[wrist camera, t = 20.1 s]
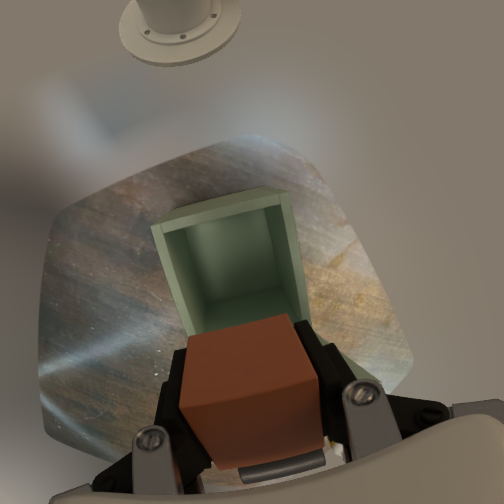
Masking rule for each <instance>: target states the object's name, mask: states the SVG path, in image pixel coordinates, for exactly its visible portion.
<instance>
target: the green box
mask: <svg viewBox="0 0 504 504" xmlns="http://www.w3.org/2000/svg"><path fill="white" fill-rule="evenodd" d="M150 227H151V230H152V234H153V237H154V240H155V244H156V247H157V250H158V253H159V257H160V260H161V263H162V266H163V269H164V272H165V275H166V278H167V281H168V284H169V287H170V290H171V293H172V296H173V298H174V301H175V304H176V307H177V309H178V312H179V315H180V318H181V320H182V323H183V325H184V328H185V331H186V333H187V336H188V338H189V336H192V335H197V334H202V333H206V332H211V331H215V330H220V329H224V328H229V327H233V326H237V325H241V324H245V323H250V322H254V321H258V320H262V319H265V318H269V317H273V316H277V315H281V314H284V313H286V314H287V315H288V317H289V319H290V321H291V323H292V325H293V326H294V323H295V322H299V321H302V320H306V319H307V320H308V322H309V324H310V325H311V327H312V322H311V315H310V308H309V302H308V295H307V289H306V283H305V277H304V271H303V265H302V259H301V253H300V248H299V242H298V237H297V231H296V226H295V221H294V216H293V211H292V206H291V201H290V196H289V192H288V191H284V190H280V189H275V188H271V187H267V186H264V187H259V188H255V189H251V190H246V191H242V192H238V193H234V194H229V195H225V196H221V197H217V198H213V199H209V200H205V201H202V202H198V203H194V204H190V205H186V206H183V207H179V208H175V209H173V210H171V211H170V212H169V213H167V214H166V215H165V216H163V217H162V218H161V219H159V220H158V221H157V222H155V223H154V224H153V225H151V226H150Z"/></svg>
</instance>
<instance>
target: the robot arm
mask: <svg viewBox="0 0 504 504" xmlns="http://www.w3.org/2000/svg"><path fill="white" fill-rule="evenodd" d="M136 2H137V4H138V6H139V9H138V11H137V14H136V26H137V29H138V31H139V33H140V34H141V35H142V36H143V38H145V39H146V40H148V41H149V42H152V43H154V44H158V45H166V46H173V45H181V44H185V43H189V42H192V41H194V40H197V39H199V38H201V37H203V36H204V35H205V34H207V33H208V32H210V31H211V30H212V29H213V28H214V27H215V25H216V24H217V22H218V21H219V19H220V16H221V11H222V4H221V1H220V0H136ZM183 38H185V39H183ZM293 327H294V329H295V331H296V333H297V335H298V337H299V339H300V341H301V343H302V345H303V347H304V349H305V352H306V354H307V356H308V358H309V360H310V362H311V364H312V366H313V368H314V370H315V372H316V374H317V376H318V383H319V394H320V403H321V413H322V423H323V433H324V436H328V439H329V441H330V442H332V441H334V442H335V443H339V444H342V446H343V452H344V458H345V464H344V465H341V466H338V467H335V468H332V469H329V470H326V471H323V472H319V473H316V474H313V475H309V476H306V477H302V478H298V479H294V480H290V481H286V482H281V483H277V484H272V485H267V486H261V487H256V488H250V489H243V490H237V491H228V492H219V493H209V494H205V491H204V487H203V483H202V479H201V476H200V473H201V472H202V471H204V469H208V468H211V461H213V460H212V459H211V458H210V456H209V455H208V453H207V452H206V450H205V449H204V447H203V446H202V444H201V443H200V441H199V440H198V438H197V437H196V435H195V433H194V432H193V430H192V429H191V427H190V425H189V424H188V422H187V421H186V419H185V417H184V416H183V414H182V412H181V410H180V409H179V401H180V393H181V385H182V378H183V371H184V364H185V357H186V351H187V348H185V349H180V350H175V351H174V355H173V360H172V365H171V369H170V374H169V379H168V381H166V382H163V384H162V387H161V392H160V397H159V401H158V406H157V411H156V416H155V421H154V425H149V426H146V427H144V428H142V429H140V430H139V431H138V432H137V433H136V434H135V435H134V437H133V440H132V452H130V453H129V454H128V455H126V456H125V457H123V458H122V459H120V460H119V461H118V462H116V463H115V464H113V465H112V466H110V467H109V468H107V469H106V470H104V471H103V472H101V473H100V474H98V475H97V476H96V477H95V479H94V480H93V483H92V485H90V484H89V483H87V484H84V485H82V486H79V487H76V488H74V489H71V490H68V491H66V492H63V493H60V494H57V495H55V496H53V497H52V498H51V499H50V501H49V504H504V401H501V400H499V399H491V400H484V401H477V402H469V403H459V404H452V407H446V406H445V405H444V404H442V403H440V402H436V401H429V400H421V399H413V398H407V397H400V396H394V395H388V394H385V391H384V389H383V387H382V385H381V384H380V383H378V382H377V381H375V380H372V379H357V378H356V376H355V375H354V373H353V372H352V370H351V369H350V367H349V366H348V364H347V362H346V361H345V359H344V358H343V356H342V355H341V353H340V352H339V350H338V349H337V347H336V346H335V344H334V343H330V344H327V345H323V346H322V344H321V342H320V341H319V339H318V337H317V336H316V334H315V332H314V330H313V329H312V327H311V325H310V324H309V322H308V320H307V319H306V320H302V321H299V322H295V323H294V326H293Z"/></svg>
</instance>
